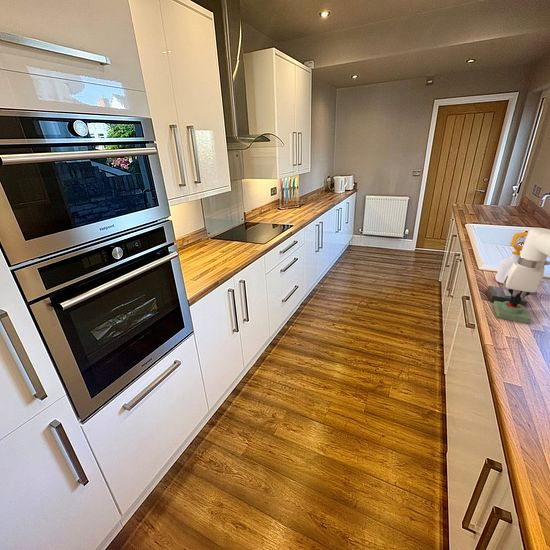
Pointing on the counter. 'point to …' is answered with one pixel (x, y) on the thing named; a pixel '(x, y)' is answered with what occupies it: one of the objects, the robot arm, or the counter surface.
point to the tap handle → (507, 293)
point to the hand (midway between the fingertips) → (513, 304)
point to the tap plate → (501, 295)
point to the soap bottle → (509, 259)
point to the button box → (511, 312)
